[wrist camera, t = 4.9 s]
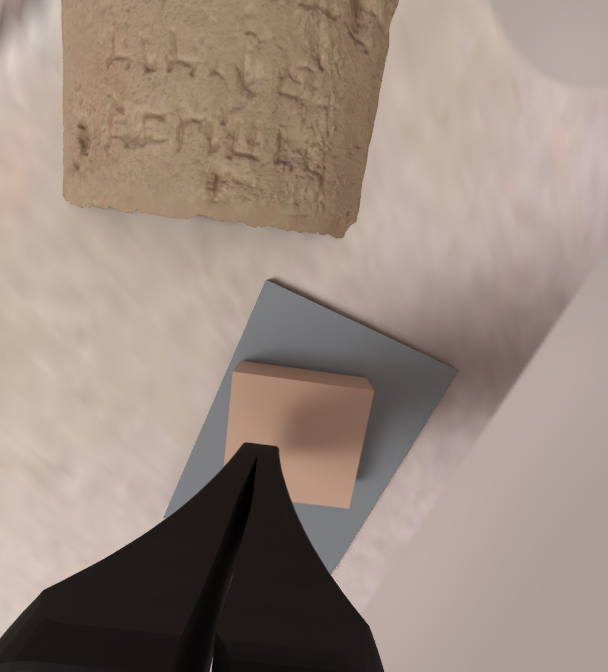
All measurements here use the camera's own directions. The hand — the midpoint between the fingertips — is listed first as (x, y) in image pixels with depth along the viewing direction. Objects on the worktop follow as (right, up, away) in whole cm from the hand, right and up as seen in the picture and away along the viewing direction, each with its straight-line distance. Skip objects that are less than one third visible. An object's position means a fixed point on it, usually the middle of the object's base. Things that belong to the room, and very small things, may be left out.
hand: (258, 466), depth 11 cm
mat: (+2, -1, +4) cm, 4 cm away
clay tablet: (-2, +15, +1) cm, 15 cm away
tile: (-2, +1, +2) cm, 3 cm away
